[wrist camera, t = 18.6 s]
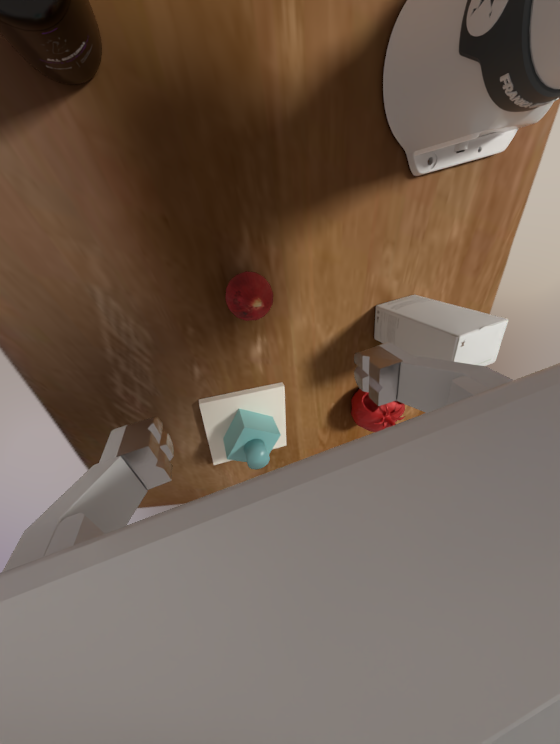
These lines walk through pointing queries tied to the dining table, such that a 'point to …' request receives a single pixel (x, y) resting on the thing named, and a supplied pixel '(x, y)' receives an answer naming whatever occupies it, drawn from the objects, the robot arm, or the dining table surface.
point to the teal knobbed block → (251, 438)
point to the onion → (249, 296)
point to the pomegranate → (374, 412)
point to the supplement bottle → (54, 37)
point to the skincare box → (439, 330)
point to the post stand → (258, 400)
